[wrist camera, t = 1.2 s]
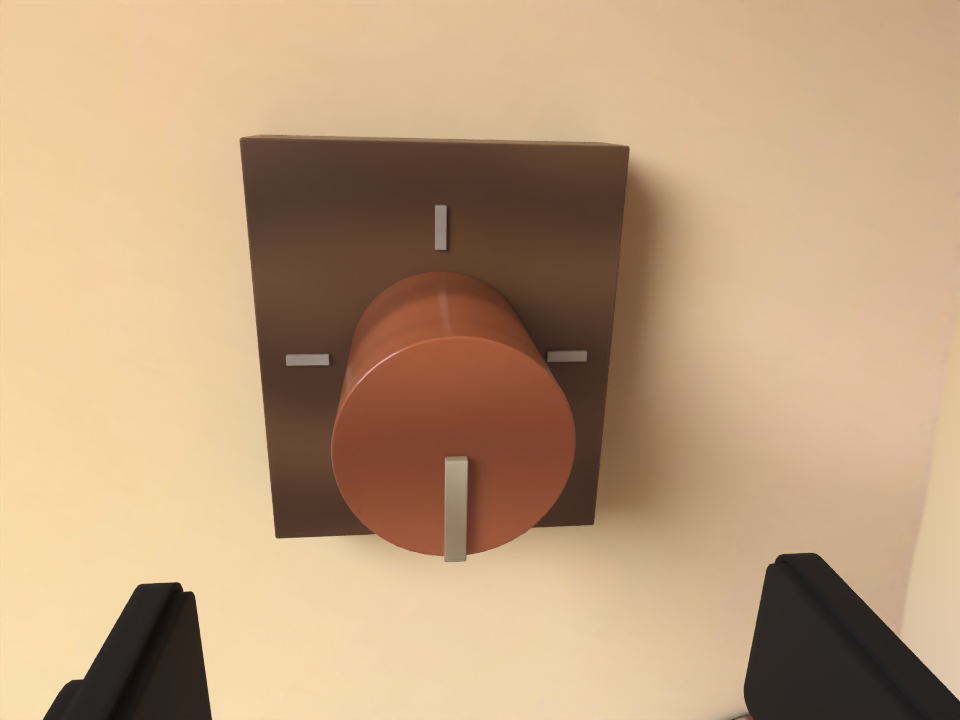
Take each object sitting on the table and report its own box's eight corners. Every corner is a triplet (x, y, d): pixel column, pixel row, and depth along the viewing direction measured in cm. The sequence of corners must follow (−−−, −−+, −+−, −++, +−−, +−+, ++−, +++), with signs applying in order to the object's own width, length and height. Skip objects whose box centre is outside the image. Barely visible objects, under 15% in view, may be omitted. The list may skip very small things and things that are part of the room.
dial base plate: (258, 134, 23) (237, 137, 20) (604, 142, 24) (632, 146, 21) (288, 496, 28) (274, 542, 25) (575, 486, 29) (595, 527, 26)
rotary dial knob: (346, 270, 22) (322, 342, 15) (531, 271, 22) (589, 339, 16) (353, 439, 24) (335, 570, 17) (522, 434, 24) (570, 558, 18)
